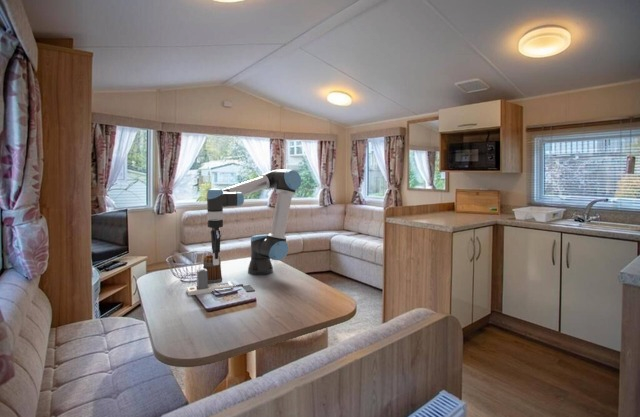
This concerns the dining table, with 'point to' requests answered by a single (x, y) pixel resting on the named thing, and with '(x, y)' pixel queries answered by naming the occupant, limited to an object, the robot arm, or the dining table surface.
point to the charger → (202, 279)
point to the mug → (212, 270)
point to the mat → (248, 288)
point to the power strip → (209, 288)
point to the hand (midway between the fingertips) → (216, 264)
